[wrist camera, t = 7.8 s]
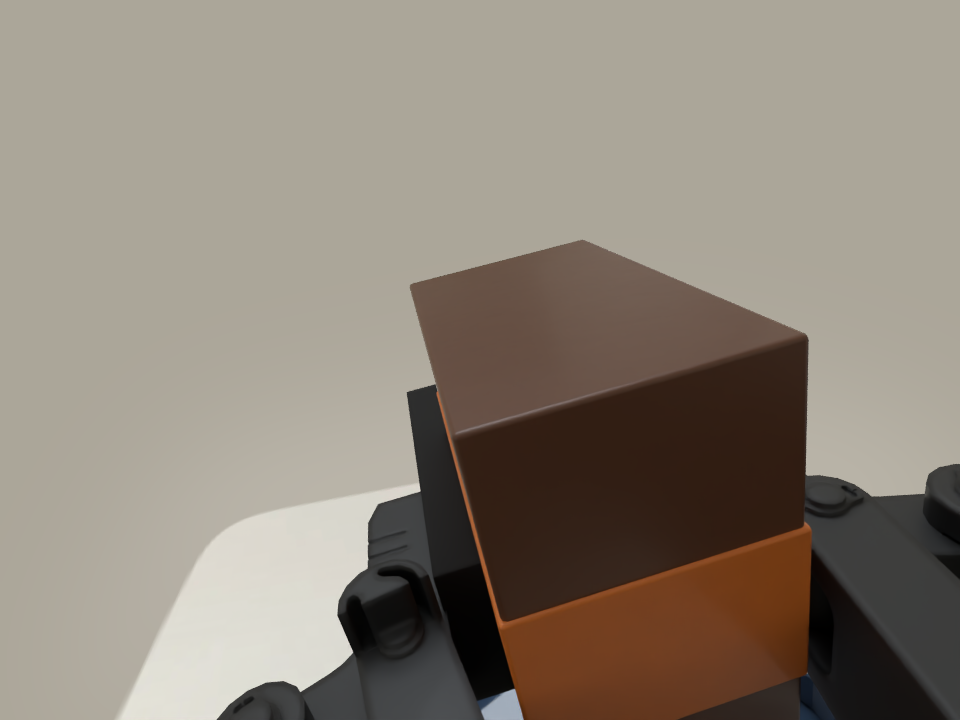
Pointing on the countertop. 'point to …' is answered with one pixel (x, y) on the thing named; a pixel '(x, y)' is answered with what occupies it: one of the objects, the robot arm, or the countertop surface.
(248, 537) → the countertop surface
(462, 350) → the snack carton
